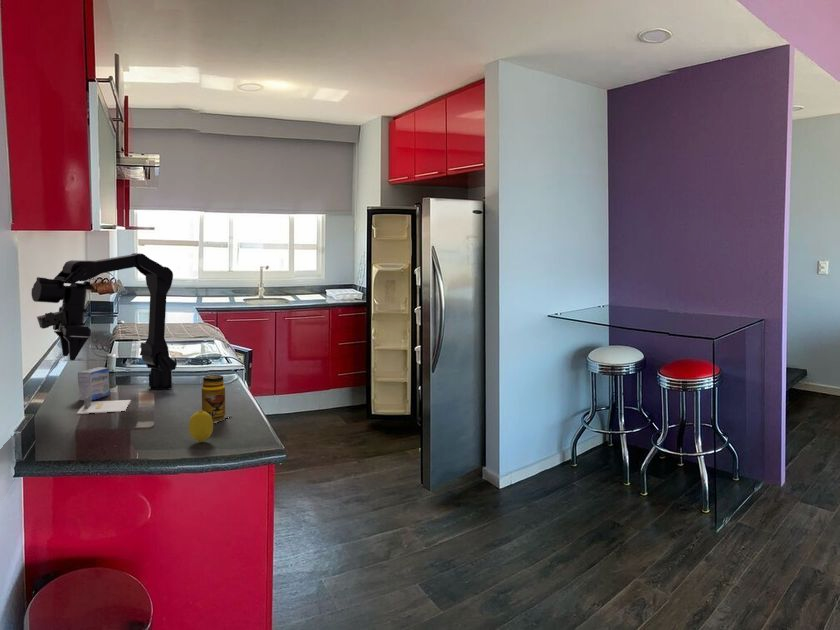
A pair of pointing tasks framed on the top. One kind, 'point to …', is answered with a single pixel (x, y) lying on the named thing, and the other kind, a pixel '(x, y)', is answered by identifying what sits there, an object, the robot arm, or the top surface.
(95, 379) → the medicine box
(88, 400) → the board
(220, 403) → the condiment
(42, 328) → the robot arm
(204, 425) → the lemon
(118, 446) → the top surface
